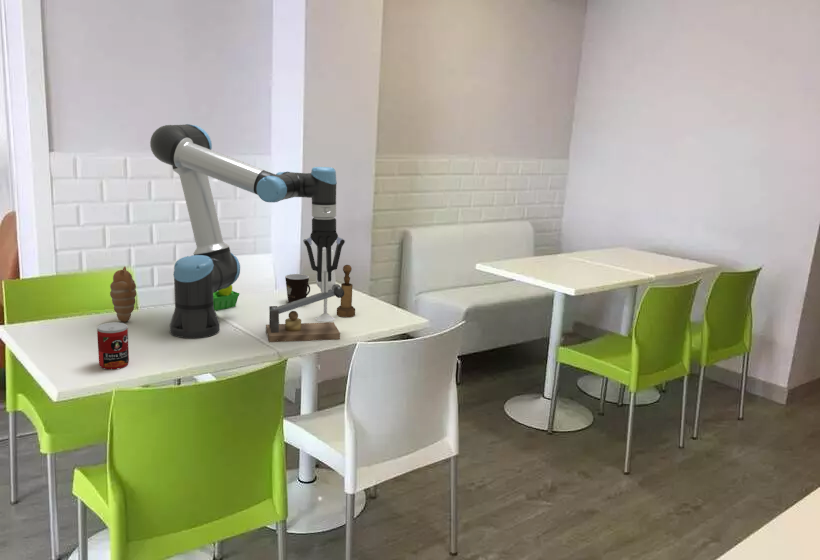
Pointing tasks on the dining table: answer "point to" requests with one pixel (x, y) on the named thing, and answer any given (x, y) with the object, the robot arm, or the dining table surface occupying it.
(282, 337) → the nutcracker base
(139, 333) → the dining table surface
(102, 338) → the canned food
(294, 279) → the coffee mug
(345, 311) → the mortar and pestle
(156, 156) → the robot arm
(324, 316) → the champagne flute
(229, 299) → the fruit basket
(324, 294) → the lever
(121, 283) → the brown ridged tall ovoid
